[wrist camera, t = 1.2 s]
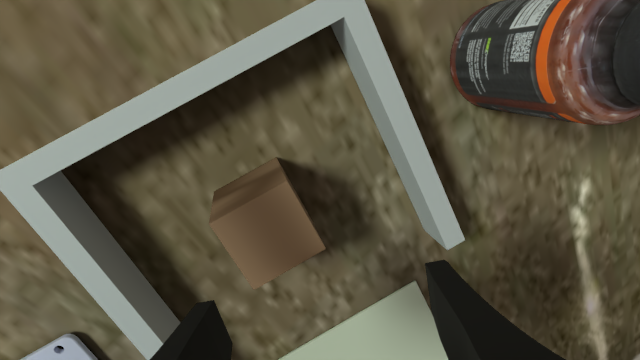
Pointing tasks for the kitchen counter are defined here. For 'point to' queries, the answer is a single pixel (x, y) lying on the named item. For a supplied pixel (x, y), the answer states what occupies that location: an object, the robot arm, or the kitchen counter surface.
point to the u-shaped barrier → (47, 162)
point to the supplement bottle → (552, 59)
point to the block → (264, 224)
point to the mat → (380, 333)
